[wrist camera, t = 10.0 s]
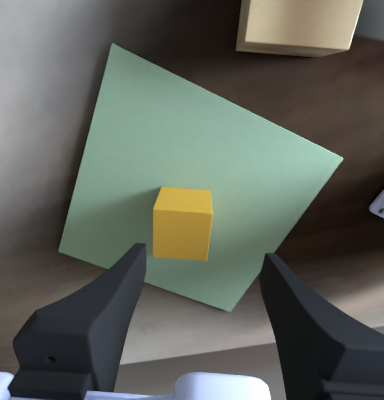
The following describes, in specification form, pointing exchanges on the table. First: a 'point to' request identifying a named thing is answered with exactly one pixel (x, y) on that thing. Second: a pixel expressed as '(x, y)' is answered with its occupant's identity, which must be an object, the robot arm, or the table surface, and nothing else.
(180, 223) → the mustard cube
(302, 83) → the table surface
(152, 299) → the table surface
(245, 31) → the birch block
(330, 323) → the robot arm
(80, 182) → the sage mat
